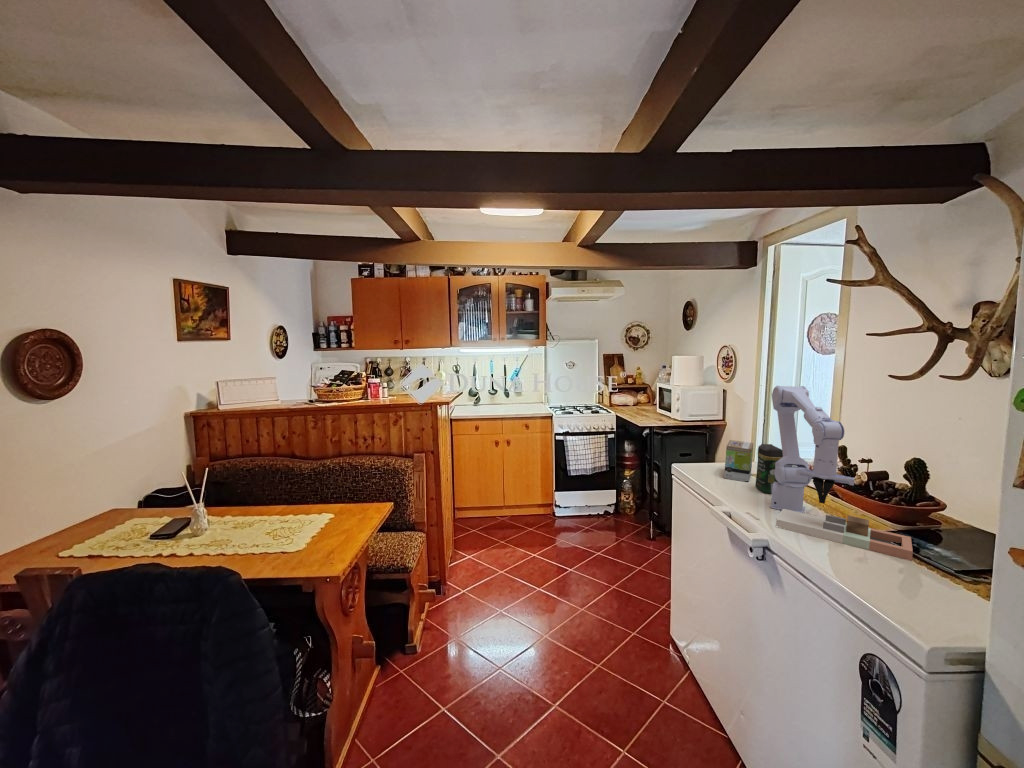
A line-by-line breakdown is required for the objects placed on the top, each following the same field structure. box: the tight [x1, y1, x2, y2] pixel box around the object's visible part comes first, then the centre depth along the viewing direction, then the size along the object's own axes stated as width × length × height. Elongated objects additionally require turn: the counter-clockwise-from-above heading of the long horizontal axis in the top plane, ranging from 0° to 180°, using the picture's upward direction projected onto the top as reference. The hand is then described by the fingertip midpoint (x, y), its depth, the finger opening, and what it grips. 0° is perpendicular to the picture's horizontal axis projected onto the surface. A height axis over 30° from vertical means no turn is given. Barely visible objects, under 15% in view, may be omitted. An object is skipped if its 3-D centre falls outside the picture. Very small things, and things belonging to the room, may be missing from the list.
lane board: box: [775, 509, 914, 561], centre depth 131 cm, size 32×12×4 cm, turn 49°
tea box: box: [723, 439, 754, 482], centre depth 190 cm, size 15×10×15 cm
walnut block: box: [846, 515, 870, 537], centre depth 128 cm, size 5×5×4 cm
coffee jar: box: [755, 443, 783, 495], centre depth 171 cm, size 10×8×19 cm
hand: (822, 502), depth 133 cm, fingers closed
